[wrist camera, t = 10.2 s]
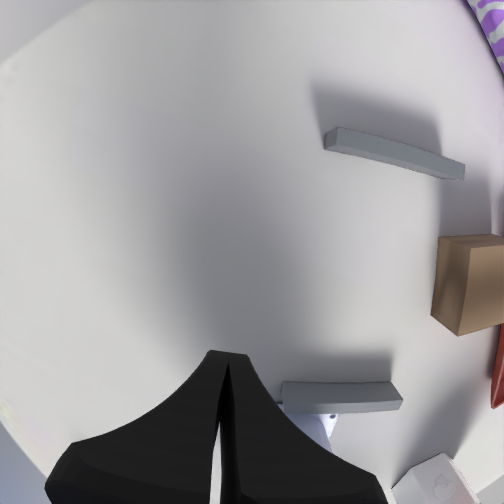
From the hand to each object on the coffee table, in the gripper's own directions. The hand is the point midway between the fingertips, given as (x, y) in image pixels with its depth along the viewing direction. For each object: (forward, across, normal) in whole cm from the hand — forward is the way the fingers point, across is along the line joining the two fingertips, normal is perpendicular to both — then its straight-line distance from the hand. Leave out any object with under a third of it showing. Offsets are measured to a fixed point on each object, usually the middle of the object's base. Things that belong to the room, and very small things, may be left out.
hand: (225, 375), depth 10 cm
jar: (+10, -26, +22) cm, 35 cm away
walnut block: (+10, -17, -3) cm, 20 cm away
